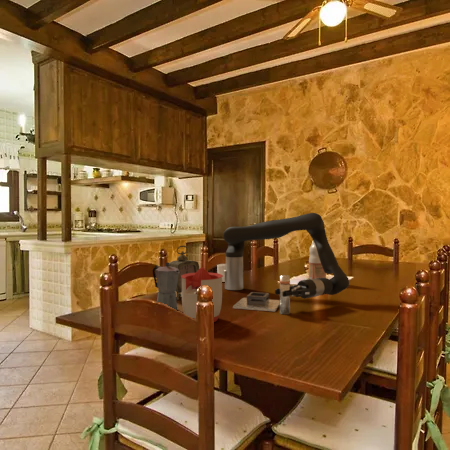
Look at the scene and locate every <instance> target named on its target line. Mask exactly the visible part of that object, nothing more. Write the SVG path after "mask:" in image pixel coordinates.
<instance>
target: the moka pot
mask: <svg viewBox="0 0 450 450" xmlns="http://www.w3.org/2000/svg"><path fill="white" fill-rule="evenodd" d="M169 263H170V262H165V266H158V265H156V264H155V265H154V267H153V268H152V270H151V271H152V277H153V280H154V286H155V288H157V289H158V291H157V299H156V302H157V301H158V302H161V303H164V304H167V305H168V306H170V307H172V308H174V309H176V311H177V310H178V303H177V302H178V300H176V297H177V292H176V287H177V281H178V275H179V269H178V268H175V267H170V266H169Z"/></svg>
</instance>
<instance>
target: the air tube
mask: <svg viewBox="0 0 450 450" xmlns="http://www.w3.org/2000/svg"><path fill="white" fill-rule="evenodd" d="M290 286H291V275H288V274H282V275H279V288H280V294H279V300H280V306H279V314H280V315H285V316H286V315H287V316H288V315H290V314H291V296H287V297H283V291H286V290H290Z"/></svg>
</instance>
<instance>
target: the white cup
mask: <svg viewBox="0 0 450 450" xmlns="http://www.w3.org/2000/svg"><path fill="white" fill-rule="evenodd" d="M216 267H217V269H216V270H217V271H216V273H218V274H221V275H223V277H222V282H225V271H226V263H220V264H217V265H216Z"/></svg>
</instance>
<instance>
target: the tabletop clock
mask: <svg viewBox="0 0 450 450" xmlns="http://www.w3.org/2000/svg"><path fill="white" fill-rule="evenodd" d="M180 248H186V251H185V252H184V251H183V250H182V251H181V252H178V251H179V249H180ZM188 252H189V247H188V246H187V245H180V246H178V247H177V249H176V253H177V254H178V255H179V256H177V259H175V260H173V261H169V262H168V263H169V266H170V267H175V268H178V269H179V275H178V281H177V287H176V291H175V292H176V301H179V300H180V298H182V278H181V276H182V275H183V274H188V273H196V272H197V271H198V270H199V269H200V265H199V262H198V261H196V260H191V259H190V260H188V259H189V258H188V256H187V255H186V254H187V253H188Z"/></svg>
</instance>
